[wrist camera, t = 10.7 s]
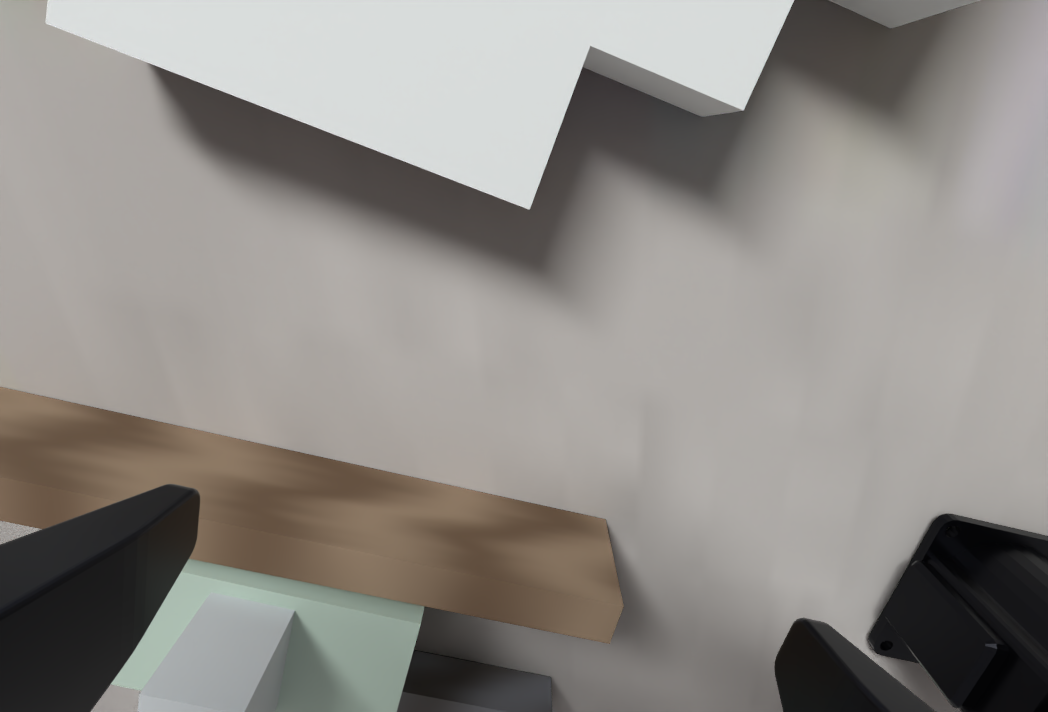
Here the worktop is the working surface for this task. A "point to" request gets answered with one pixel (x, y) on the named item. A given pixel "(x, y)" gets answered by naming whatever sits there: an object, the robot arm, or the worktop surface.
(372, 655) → the mint block with post
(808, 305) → the worktop surface
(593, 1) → the pixel art tile
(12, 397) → the brown and gray bars
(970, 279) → the worktop surface
